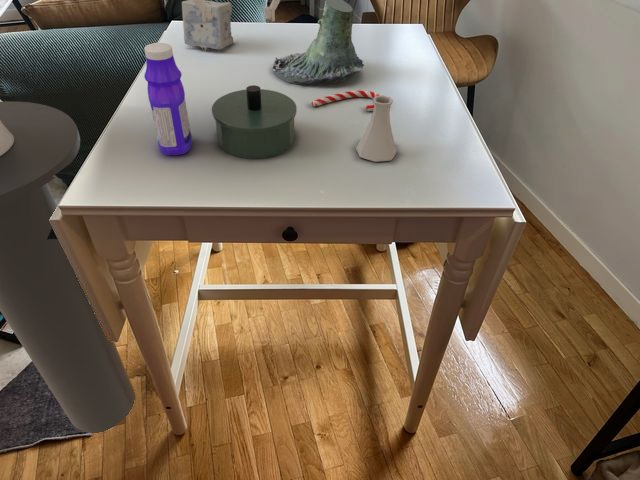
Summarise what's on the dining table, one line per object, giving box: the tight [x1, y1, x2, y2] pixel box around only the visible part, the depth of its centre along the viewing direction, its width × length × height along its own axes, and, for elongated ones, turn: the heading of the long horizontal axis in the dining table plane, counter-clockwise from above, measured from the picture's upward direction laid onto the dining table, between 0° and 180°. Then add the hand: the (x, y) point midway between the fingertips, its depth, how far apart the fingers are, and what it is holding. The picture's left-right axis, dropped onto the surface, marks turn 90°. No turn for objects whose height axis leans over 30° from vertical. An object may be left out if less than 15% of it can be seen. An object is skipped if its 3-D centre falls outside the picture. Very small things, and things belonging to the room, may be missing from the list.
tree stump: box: [272, 0, 365, 86], centre depth 107 cm, size 18×20×18 cm
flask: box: [355, 94, 397, 163], centre depth 83 cm, size 7×7×10 cm
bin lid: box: [211, 84, 298, 132], centre depth 83 cm, size 15×15×5 cm
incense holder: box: [181, 0, 234, 52], centre depth 116 cm, size 10×8×10 cm
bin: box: [214, 118, 295, 160], centre depth 86 cm, size 14×14×6 cm
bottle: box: [143, 42, 193, 156], centre depth 79 cm, size 7×6×17 cm
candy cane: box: [311, 90, 381, 112], centre depth 99 cm, size 8×1×15 cm
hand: (239, 21), depth 75 cm, fingers open, 8 cm apart
